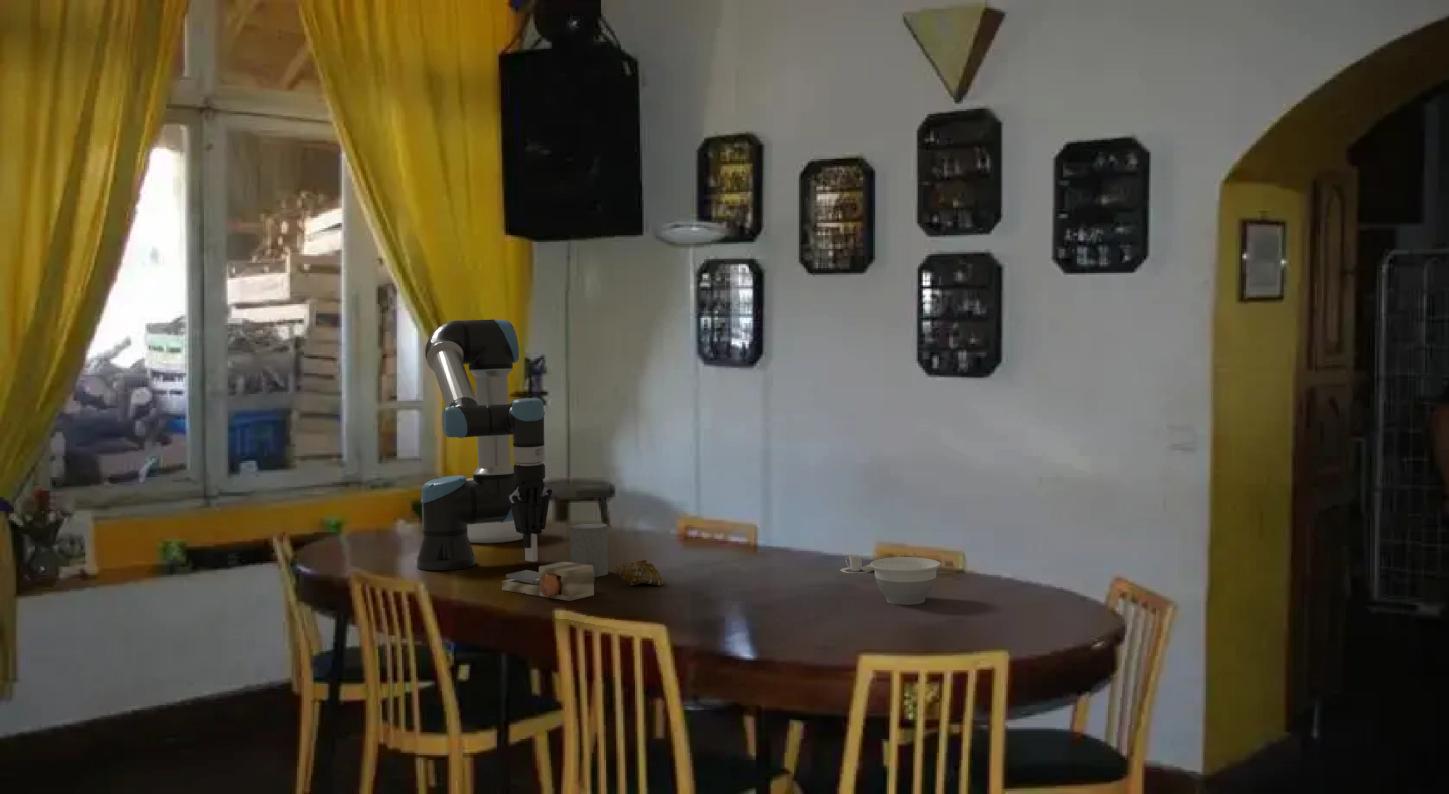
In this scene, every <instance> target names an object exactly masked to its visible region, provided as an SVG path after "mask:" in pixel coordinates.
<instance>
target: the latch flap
mask: <svg viewBox="0 0 1449 794" xmlns="http://www.w3.org/2000/svg"><path fill="white" fill-rule="evenodd" d="M505 578H506V579H514V580H518V581H523V582H527V583H531V584H534V585H538V584H539V571H534V570H529V569H525V570H520V571H515V572H511V573H507V574H506V575H505Z"/></svg>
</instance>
